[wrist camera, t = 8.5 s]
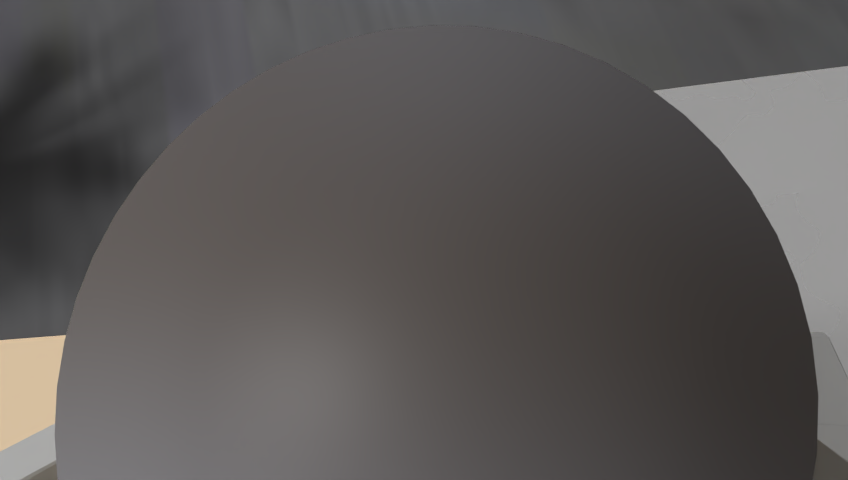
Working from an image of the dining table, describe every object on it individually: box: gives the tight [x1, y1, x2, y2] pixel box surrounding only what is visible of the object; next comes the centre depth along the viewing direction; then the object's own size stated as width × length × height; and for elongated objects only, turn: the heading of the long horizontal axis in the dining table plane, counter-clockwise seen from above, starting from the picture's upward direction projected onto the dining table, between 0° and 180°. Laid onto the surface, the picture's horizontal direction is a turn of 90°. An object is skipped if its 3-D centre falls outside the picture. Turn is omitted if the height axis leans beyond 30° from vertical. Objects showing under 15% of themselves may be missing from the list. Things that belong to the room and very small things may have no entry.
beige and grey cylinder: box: [55, 25, 818, 480], centre depth 11 cm, size 5×5×12 cm
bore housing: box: [654, 66, 848, 377], centre depth 19 cm, size 16×16×5 cm
